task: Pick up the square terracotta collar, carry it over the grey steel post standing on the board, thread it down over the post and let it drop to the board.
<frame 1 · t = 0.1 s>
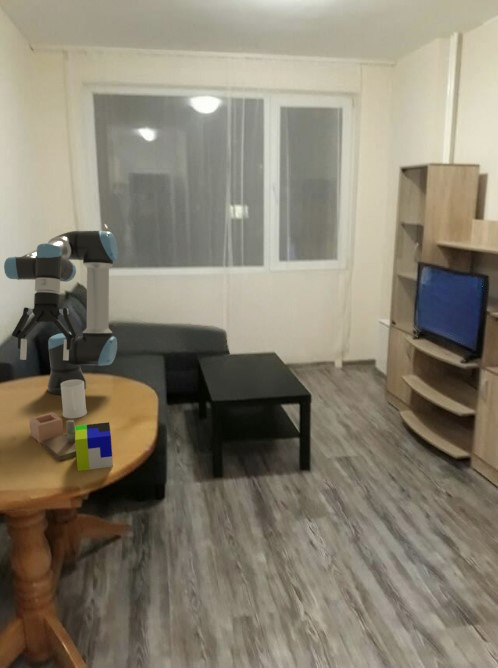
hand: (44, 360, 172), 28 cm above the table, tool tilted 20°, fingers open, 13 cm apart
puzzle toy: (95, 461, 166), on the table
collar: (47, 435, 183), on the table
post: (72, 446, 176), on the table
mug: (74, 416, 199), on the table
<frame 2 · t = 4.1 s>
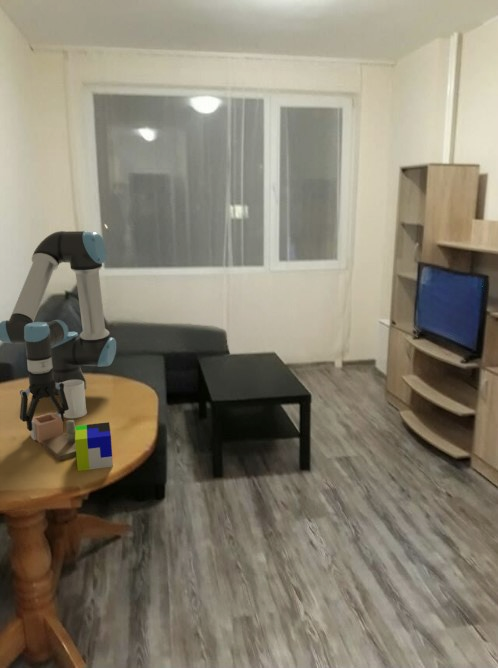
hand: (46, 434, 183), 0 cm above the table, tool pointing down, fingers closed on collar, 8 cm apart
collar: (47, 435, 183), on the table, touching gripper
everything else where it was.
when the fingers open (3 cm above the table, at t = 8.9 s): collar stays where it is, resting on post.
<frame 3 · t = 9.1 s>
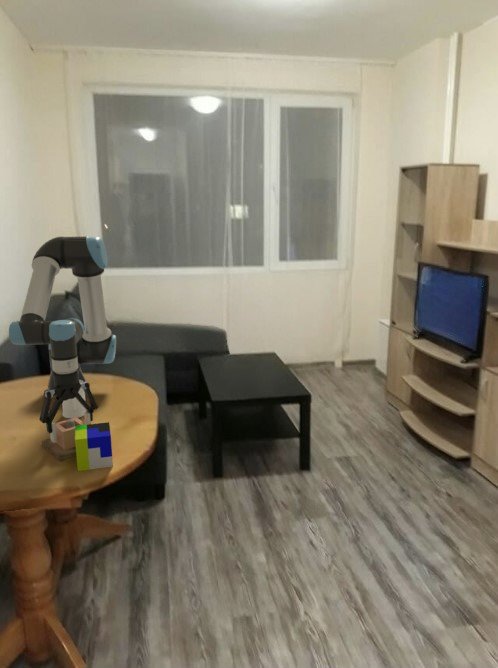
hand: (71, 436, 175), 3 cm above the table, tool pointing down, fingers open, 11 cm apart
collar: (71, 441, 175), point 1 cm above the table, touching post
everything else where it was.
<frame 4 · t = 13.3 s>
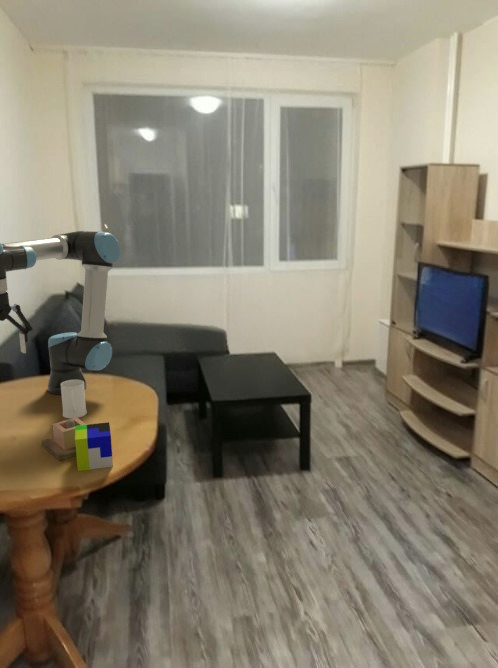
hand: (2, 356, 179), 27 cm above the table, tool pointing down, fingers open, 13 cm apart
nothing on the table moved.
at the end: collar 0.1 cm from the post (horizontally); collar point 1.5 cm above the table; the gripper is holding nothing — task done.
